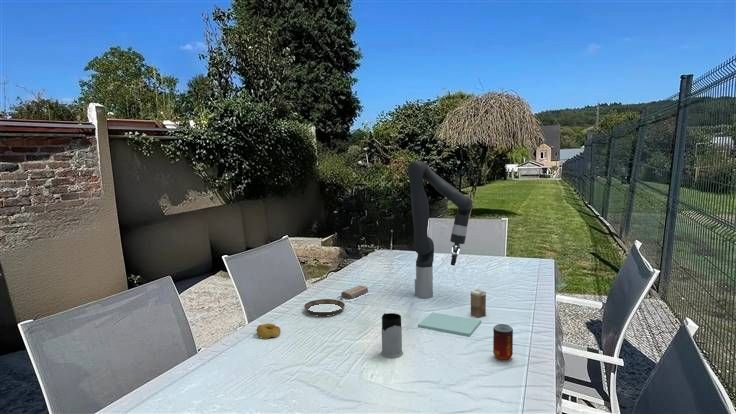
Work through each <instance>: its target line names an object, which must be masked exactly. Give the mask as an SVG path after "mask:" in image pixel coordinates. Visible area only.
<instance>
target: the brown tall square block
mask: <svg viewBox="0 0 736 414" xmlns="http://www.w3.org/2000/svg"><path fill="white" fill-rule="evenodd" d="M486 300H487V291H485V290H482V289H479V288H477V289H474V290H470V315H471V316H473V317H475V318H477V319H480V318H482V317H483V318H484V317H486V316H487V315H486V314H487V309H486V308H487V305H486V304H487V301H486Z"/></svg>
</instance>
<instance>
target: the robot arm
mask: <svg viewBox="0 0 736 414" xmlns="http://www.w3.org/2000/svg"><path fill="white" fill-rule="evenodd" d="M407 175H408V180H409V187H410V196H411V197H410V198H411V199H410V200H411V201H410V202H411V213H412V214H411V215H412V223H413V231H414V232H413V248H414V251H415V252H416V254H417V258H416V260H415V279H414V297H417V298H420V299H429V298H430V299H431V298H433V296H434V291H433V290H434V289H433V288H434V277H433V274H434V273H433V271H434V270H433V269H434V265H433V263H434V256H435V248H434V247H435V245H434V240H433V239H432V238H431V237H429V236H428V224H429V219H430V207H429V206H430V204H429V199H428V196H427V194H426V191H425V187H424V181H426V182H428V183H429V184H430V185H431V186H432V187H433V188H434V189H435V191H437V192H438V193H439V194H440V195H442V196H443V197H444V198H446V199H447V200H449V201H451V202H452V204H453V205H455V206H456V208H458V209H457V213H456V215H455V216H454V217H455V218H454V220H453V221H454V223H453V226H452V229H451V235H450V242H452V243H454V245H452V248H451V256H450V257H451V260H450V266H456V263H457V259H458V256H459V255H460V250H461V245H465V242H466V237H467V232H468V224H469V220H470V219H469V218H470V215H471V211H472V208H473V200H472V199H471V197H469V196H466V195H465V194H463V193H462V192H460V191H459V190H458V189H457V188H456V187H455V186H453V185H452V184H450V183H449V182H448V181H446V180H445V179H444V178H443V177H441V176H439V175H438V174H437V173H435V171H434V170H432V168H431V167H429V165H427V163H426V162H424V161H423V160H413V161H411V162H410V163H409V164H408V166H407Z"/></svg>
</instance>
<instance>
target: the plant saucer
mask: <svg viewBox="0 0 736 414" xmlns="http://www.w3.org/2000/svg"><path fill="white" fill-rule="evenodd" d="M319 304H335V305H338V306H340V307H341V308H342V309H339V310H336V311H332V312H313V311H310V310H308V309H309V308H310V307H311V306H314V305H319ZM345 306H346V304H345V303H344V301H342V300H339V299H334V298H333V299H332V298H324V299H323V298H321V299H320V298H319V299H314V300H311V301H310V300H309V301H308V302H306V303H305V304H304V309H305V310H306V312H307V313H309V314H310V315H312V314H313V315H312V316H315V315H318V316H317V317H328V316H327V315H332V316H334V315H333V314H335V315H337V313H338V314H340V313H341V312H342V311H343V310H344V308H345Z"/></svg>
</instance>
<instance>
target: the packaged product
mask: <svg viewBox="0 0 736 414" xmlns="http://www.w3.org/2000/svg"><path fill="white" fill-rule="evenodd" d="M367 292H369V290H368V286H365V285H357V286H354V287H351V288H350V289H345V290H343V291H341V293H340V294H341V295H340V296H339V295H338V296H336V297H337V298H340V299H345V300H350V299H354V298H357V297H359V296H361V295H364V294H366V293H367Z"/></svg>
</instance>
